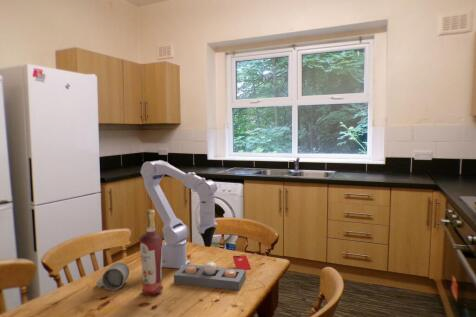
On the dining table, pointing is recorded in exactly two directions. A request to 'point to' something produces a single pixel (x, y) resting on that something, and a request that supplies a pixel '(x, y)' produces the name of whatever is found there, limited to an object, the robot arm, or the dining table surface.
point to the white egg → (210, 268)
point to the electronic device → (241, 262)
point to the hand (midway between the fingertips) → (207, 246)
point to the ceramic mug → (114, 276)
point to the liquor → (151, 257)
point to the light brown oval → (230, 274)
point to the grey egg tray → (210, 278)
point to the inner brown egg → (190, 270)
